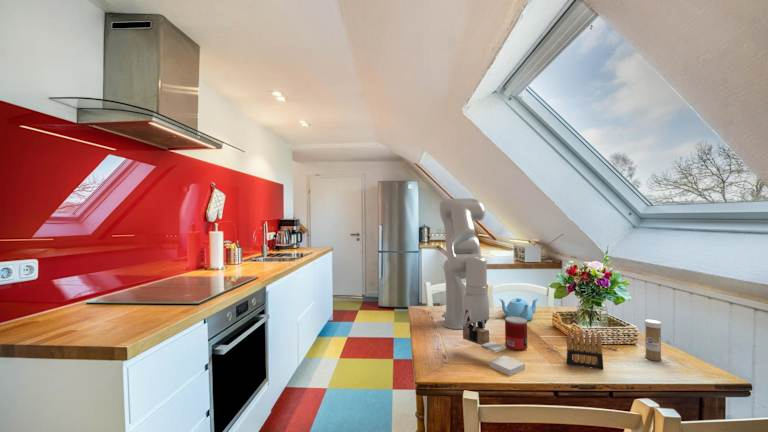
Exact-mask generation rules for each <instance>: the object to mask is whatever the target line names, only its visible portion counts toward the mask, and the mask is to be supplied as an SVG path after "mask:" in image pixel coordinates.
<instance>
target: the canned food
mask: <svg viewBox="0 0 768 432" xmlns="http://www.w3.org/2000/svg"><path fill="white" fill-rule="evenodd" d="M504 321H505V322H504V331H505V332H504V333H505V334H504V335H505V337H504V338H505V343H504V344H505V346H506V349H509V350H511V351H515V352H523V351H527V348H528V321H527V320H526V319H524V318H521V317H507V316H506V317H505V318H504Z"/></svg>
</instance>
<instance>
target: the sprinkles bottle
mask: <svg viewBox="0 0 768 432" xmlns="http://www.w3.org/2000/svg"><path fill="white" fill-rule="evenodd" d="M644 326H645V339H644V342H645V343H644V344H645V347H644V348H645V356H644V357H645V358H646V359H648V360H651V361H656V362H660V361H662V334H661V332H662V331H661V330H662V329H661V328H662V322H661V321H659V320H656V319H655V320H654V319H645V320H644Z"/></svg>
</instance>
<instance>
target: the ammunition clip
mask: <svg viewBox="0 0 768 432" xmlns="http://www.w3.org/2000/svg"><path fill="white" fill-rule="evenodd" d="M590 336H591V337H590ZM572 338H573V339H572ZM584 338H585V339H584ZM578 339H579V340H578ZM603 359H604V357H603V345H602V335H601V333H600V332H598V333H597V336H595V332H594V331H592V332H591V335H589V332H588V330H586V332H585V336H584V333H583V331H582V330H580V331H579V338H578V332H577V329H575V330H574V331H573V337H572V332H571V329H568V331H567V339H566V365H568V366H575V367H582V366H584V367H583V368H589V367H592V368H591V369H596V368H598V369H599V370H604V360H603ZM598 369H597V370H598Z"/></svg>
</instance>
